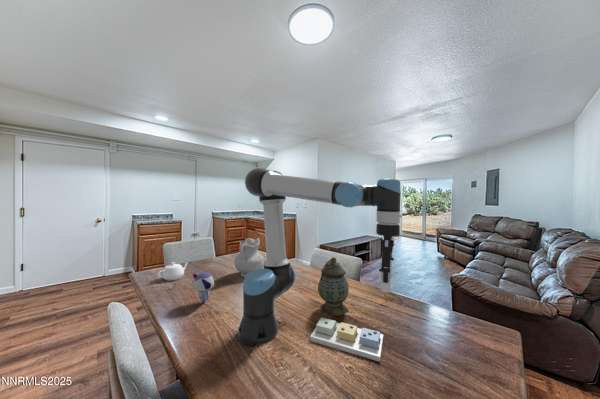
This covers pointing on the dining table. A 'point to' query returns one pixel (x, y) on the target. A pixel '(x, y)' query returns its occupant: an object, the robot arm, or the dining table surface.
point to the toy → (203, 285)
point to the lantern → (333, 288)
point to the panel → (348, 344)
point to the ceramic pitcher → (249, 257)
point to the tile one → (326, 326)
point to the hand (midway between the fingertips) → (386, 284)
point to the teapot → (172, 272)
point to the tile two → (347, 332)
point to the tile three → (370, 338)
